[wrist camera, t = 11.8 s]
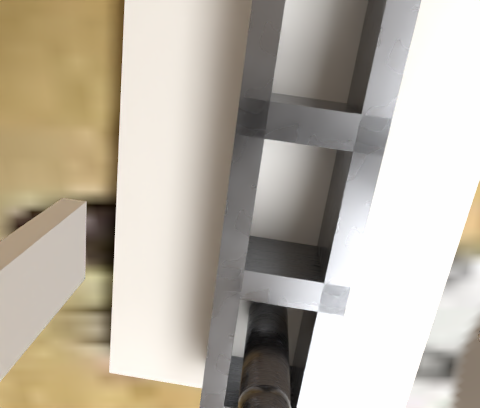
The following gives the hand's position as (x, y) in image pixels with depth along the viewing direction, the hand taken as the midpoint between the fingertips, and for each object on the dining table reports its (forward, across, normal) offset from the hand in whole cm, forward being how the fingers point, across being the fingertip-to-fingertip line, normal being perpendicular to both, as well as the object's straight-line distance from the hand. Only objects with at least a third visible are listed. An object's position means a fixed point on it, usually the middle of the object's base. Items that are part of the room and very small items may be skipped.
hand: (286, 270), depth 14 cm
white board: (+11, 0, +1) cm, 11 cm away
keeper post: (+9, 0, -7) cm, 12 cm away
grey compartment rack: (+9, +1, 0) cm, 9 cm away
